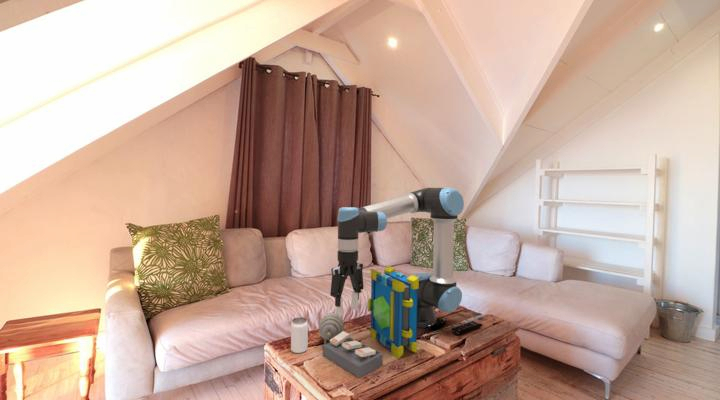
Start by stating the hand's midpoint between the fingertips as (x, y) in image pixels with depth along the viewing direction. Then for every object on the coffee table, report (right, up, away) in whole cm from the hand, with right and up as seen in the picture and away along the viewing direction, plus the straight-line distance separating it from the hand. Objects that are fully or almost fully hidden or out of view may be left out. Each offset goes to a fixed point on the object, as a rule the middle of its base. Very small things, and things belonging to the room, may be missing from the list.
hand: (347, 312), depth 119 cm
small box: (+7, -13, -3) cm, 15 cm away
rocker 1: (-3, -13, +7) cm, 15 cm away
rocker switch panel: (+2, -19, +3) cm, 19 cm away
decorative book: (+18, -19, +14) cm, 30 cm away
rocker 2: (+2, -13, +2) cm, 13 cm away
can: (-19, -19, +10) cm, 29 cm away
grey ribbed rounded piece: (-8, -18, +18) cm, 27 cm away
